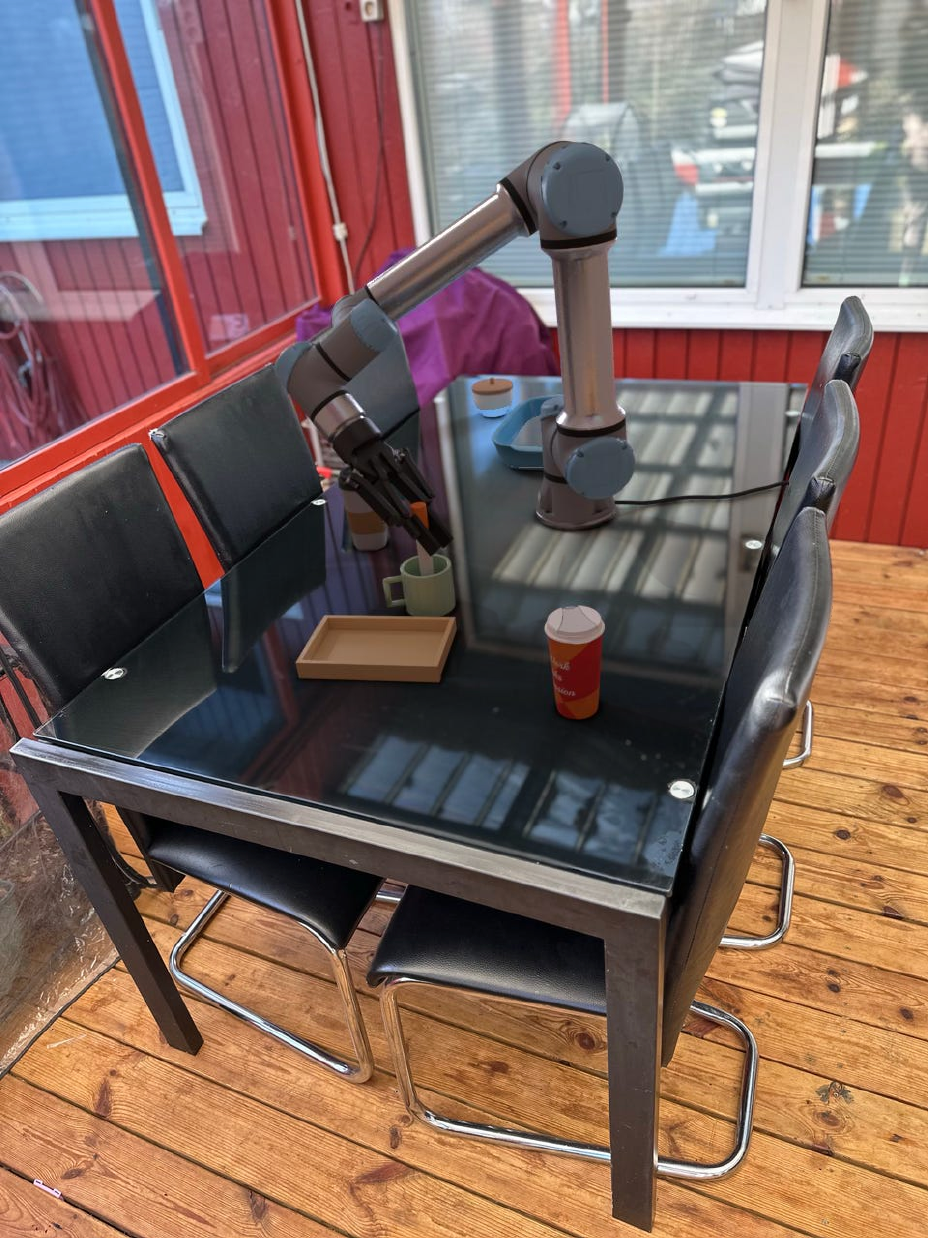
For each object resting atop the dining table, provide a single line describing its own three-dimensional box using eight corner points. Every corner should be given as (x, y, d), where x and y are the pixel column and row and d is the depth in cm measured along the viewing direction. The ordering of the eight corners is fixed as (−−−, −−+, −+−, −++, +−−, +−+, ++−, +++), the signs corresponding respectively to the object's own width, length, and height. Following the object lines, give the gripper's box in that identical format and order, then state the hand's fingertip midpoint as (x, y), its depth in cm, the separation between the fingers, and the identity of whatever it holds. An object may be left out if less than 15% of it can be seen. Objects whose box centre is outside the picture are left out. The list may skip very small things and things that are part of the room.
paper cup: (544, 693, 123) (539, 607, 116) (599, 687, 123) (597, 600, 116) (554, 728, 116) (549, 638, 109) (611, 721, 117) (611, 631, 109)
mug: (451, 592, 150) (446, 550, 146) (459, 616, 143) (454, 573, 139) (385, 603, 149) (379, 561, 145) (390, 628, 142) (383, 584, 138)
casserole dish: (583, 481, 186) (582, 449, 182) (482, 477, 193) (480, 446, 189) (615, 422, 215) (615, 393, 212) (527, 420, 222) (525, 392, 219)
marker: (439, 590, 146) (427, 501, 138) (436, 598, 144) (423, 507, 136) (425, 590, 146) (412, 501, 138) (421, 598, 144) (408, 508, 136)
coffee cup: (385, 554, 165) (374, 479, 157) (343, 554, 167) (330, 479, 159) (397, 534, 172) (387, 462, 164) (357, 534, 174) (344, 462, 166)
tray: (457, 632, 139) (455, 617, 138) (439, 682, 128) (437, 666, 126) (327, 629, 144) (324, 615, 142) (298, 678, 132) (295, 662, 131)
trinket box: (470, 421, 226) (467, 385, 221) (477, 408, 235) (474, 372, 230) (512, 420, 224) (509, 383, 219) (517, 406, 233) (515, 371, 228)
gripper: (373, 429, 147) (461, 539, 146) (305, 461, 137) (399, 579, 136) (392, 401, 141) (484, 516, 140) (322, 432, 131) (420, 556, 130)
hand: (442, 547), depth 138 cm, fingers closed on marker, 2 cm apart
